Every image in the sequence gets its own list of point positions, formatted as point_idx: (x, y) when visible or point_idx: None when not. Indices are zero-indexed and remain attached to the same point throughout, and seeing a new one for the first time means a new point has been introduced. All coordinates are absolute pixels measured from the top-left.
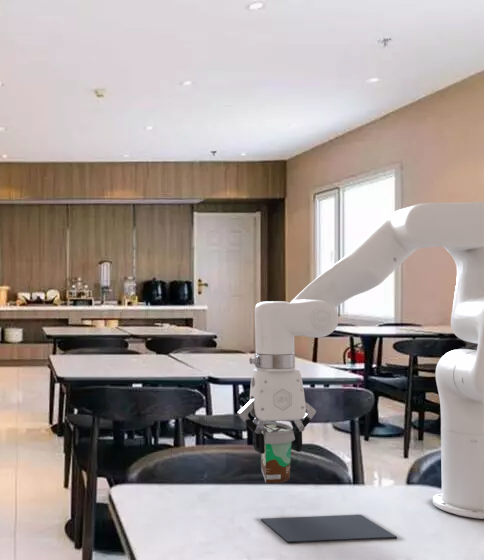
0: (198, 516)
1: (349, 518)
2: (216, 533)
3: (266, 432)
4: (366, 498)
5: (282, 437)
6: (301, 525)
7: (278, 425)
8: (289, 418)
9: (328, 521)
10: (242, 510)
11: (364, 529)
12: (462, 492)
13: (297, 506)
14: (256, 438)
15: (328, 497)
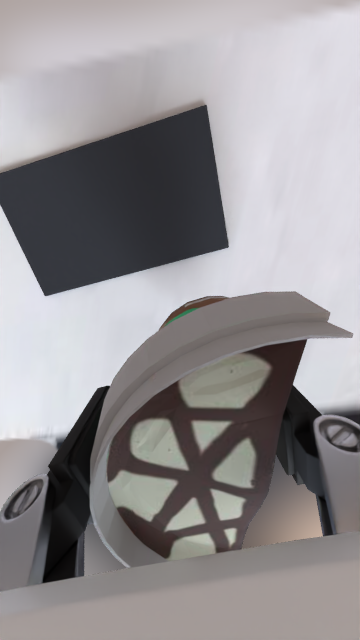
0: (341, 252)
1: (66, 272)
2: (337, 151)
3: (343, 334)
4: (30, 382)
5: (185, 335)
6: (159, 217)
7: (158, 557)
8: (43, 624)
9: (105, 249)
10: None
11: (44, 212)
12: None
13: (147, 331)
14: (306, 401)
15: (90, 380)
